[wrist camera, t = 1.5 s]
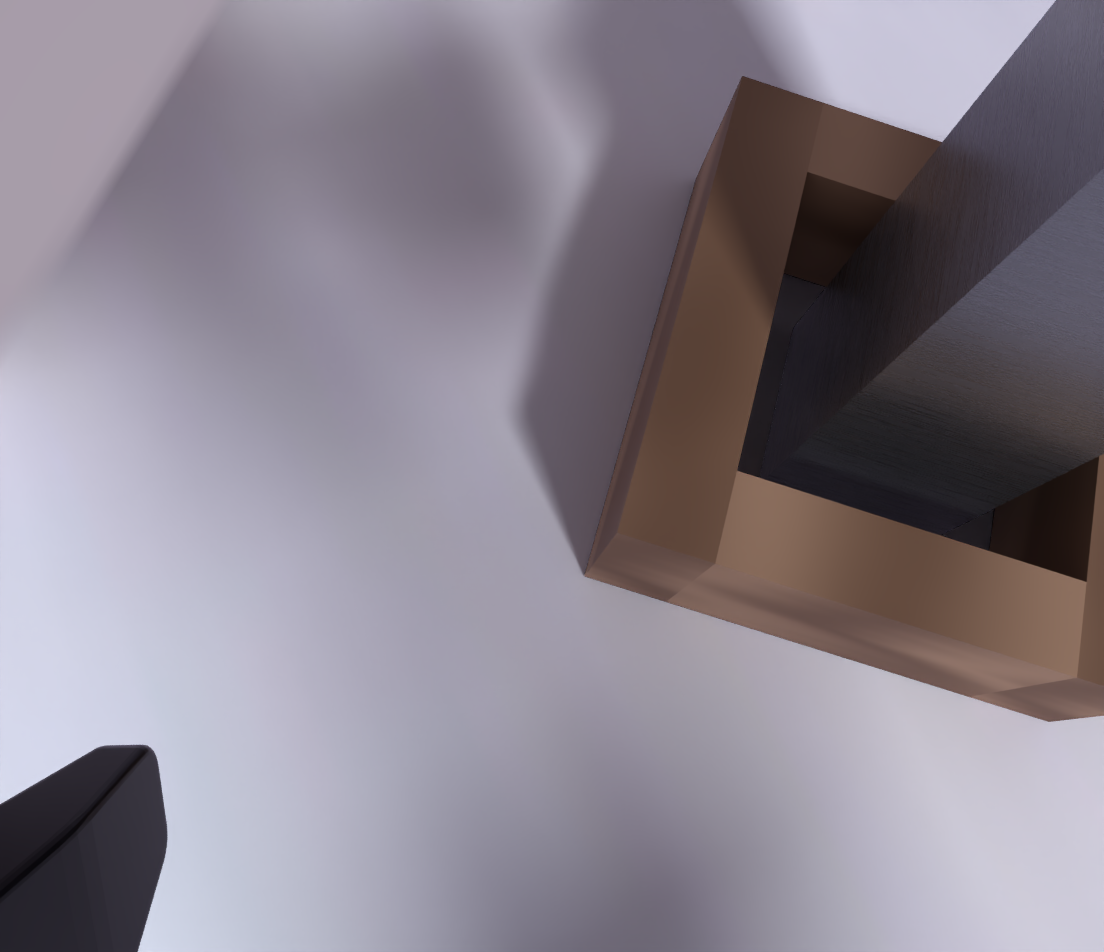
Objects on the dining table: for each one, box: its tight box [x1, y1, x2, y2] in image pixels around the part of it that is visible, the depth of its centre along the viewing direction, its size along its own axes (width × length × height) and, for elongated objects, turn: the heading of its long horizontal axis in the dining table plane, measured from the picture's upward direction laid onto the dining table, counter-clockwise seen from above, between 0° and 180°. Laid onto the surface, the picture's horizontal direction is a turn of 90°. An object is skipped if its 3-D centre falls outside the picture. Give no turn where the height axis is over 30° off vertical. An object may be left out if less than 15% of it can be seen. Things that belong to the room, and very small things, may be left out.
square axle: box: [759, 0, 1104, 535], centre depth 19 cm, size 4×4×13 cm
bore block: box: [584, 76, 1104, 722], centre depth 23 cm, size 12×12×4 cm
